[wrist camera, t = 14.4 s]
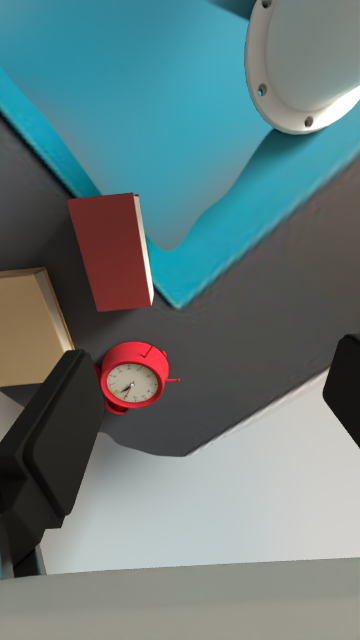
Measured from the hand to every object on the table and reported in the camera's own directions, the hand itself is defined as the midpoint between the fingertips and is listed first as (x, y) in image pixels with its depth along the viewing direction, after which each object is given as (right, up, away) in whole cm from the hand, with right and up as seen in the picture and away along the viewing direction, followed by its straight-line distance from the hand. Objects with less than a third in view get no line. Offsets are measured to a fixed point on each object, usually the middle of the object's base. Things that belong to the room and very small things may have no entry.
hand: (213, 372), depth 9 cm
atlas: (-24, +1, +24) cm, 34 cm away
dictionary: (-9, +11, +20) cm, 24 cm away
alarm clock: (-10, -6, +28) cm, 31 cm away
